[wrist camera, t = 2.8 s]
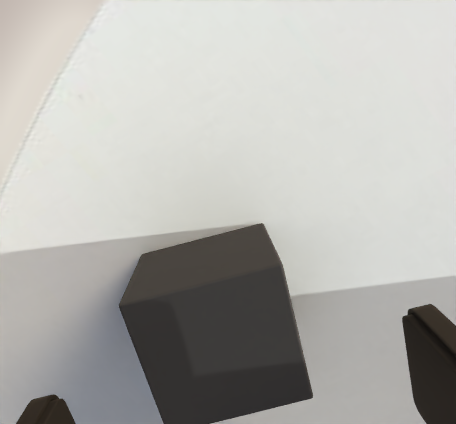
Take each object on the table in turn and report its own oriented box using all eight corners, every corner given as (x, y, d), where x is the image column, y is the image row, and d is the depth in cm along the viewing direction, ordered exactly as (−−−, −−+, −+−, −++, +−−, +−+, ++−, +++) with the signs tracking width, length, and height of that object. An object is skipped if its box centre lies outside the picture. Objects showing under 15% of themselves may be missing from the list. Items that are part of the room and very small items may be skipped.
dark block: (177, 357, 16) (167, 435, 12) (140, 254, 15) (117, 305, 11) (288, 328, 16) (313, 399, 12) (263, 222, 15) (282, 263, 11)
